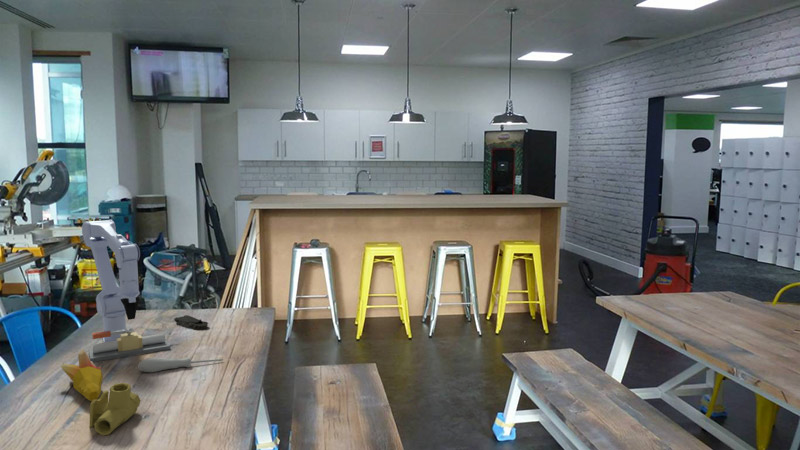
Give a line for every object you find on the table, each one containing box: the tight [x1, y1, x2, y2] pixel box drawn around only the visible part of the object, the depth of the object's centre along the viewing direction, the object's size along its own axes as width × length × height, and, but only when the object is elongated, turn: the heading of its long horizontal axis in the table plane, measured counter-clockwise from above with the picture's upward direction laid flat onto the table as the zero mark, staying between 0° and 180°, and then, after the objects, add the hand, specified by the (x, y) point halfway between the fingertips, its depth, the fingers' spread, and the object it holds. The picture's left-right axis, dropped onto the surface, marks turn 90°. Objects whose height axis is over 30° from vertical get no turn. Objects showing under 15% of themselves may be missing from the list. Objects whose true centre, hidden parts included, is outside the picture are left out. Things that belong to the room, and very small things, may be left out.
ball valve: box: [89, 382, 142, 436], centre depth 135 cm, size 13×10×10 cm
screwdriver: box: [137, 356, 224, 373], centre depth 172 cm, size 5×25×4 cm, turn 112°
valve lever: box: [91, 327, 134, 340], centre depth 183 cm, size 12×3×2 cm, turn 123°
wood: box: [174, 314, 209, 331], centre depth 216 cm, size 22×8×3 cm, turn 48°
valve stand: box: [88, 331, 171, 363], centre depth 186 cm, size 10×24×6 cm, turn 122°
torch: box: [59, 347, 104, 402], centre depth 154 cm, size 8×8×25 cm
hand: (131, 318), depth 188 cm, fingers closed
